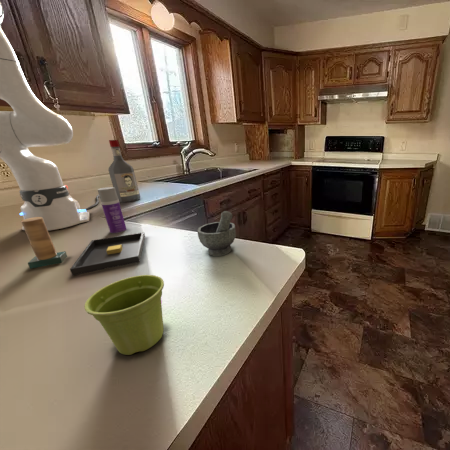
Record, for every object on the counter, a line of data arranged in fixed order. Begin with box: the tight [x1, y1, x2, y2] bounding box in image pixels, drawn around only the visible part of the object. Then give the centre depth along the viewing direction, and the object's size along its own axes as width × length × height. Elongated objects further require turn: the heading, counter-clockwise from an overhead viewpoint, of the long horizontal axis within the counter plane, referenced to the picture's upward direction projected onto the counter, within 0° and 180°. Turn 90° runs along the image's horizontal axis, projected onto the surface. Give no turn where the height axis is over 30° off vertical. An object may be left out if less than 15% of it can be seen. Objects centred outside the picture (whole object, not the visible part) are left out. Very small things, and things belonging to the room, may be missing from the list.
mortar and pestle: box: [197, 210, 237, 257], centre depth 65 cm, size 11×9×12 cm
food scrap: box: [107, 245, 122, 255], centre depth 67 cm, size 3×3×1 cm
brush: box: [20, 217, 68, 269], centre depth 60 cm, size 4×6×12 cm, turn 118°
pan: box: [69, 231, 146, 276], centre depth 66 cm, size 19×13×2 cm
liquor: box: [108, 139, 141, 203], centre depth 124 cm, size 9×9×30 cm
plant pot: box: [83, 274, 165, 356], centre depth 36 cm, size 9×9×9 cm
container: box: [97, 186, 127, 234], centre depth 81 cm, size 5×5×15 cm
